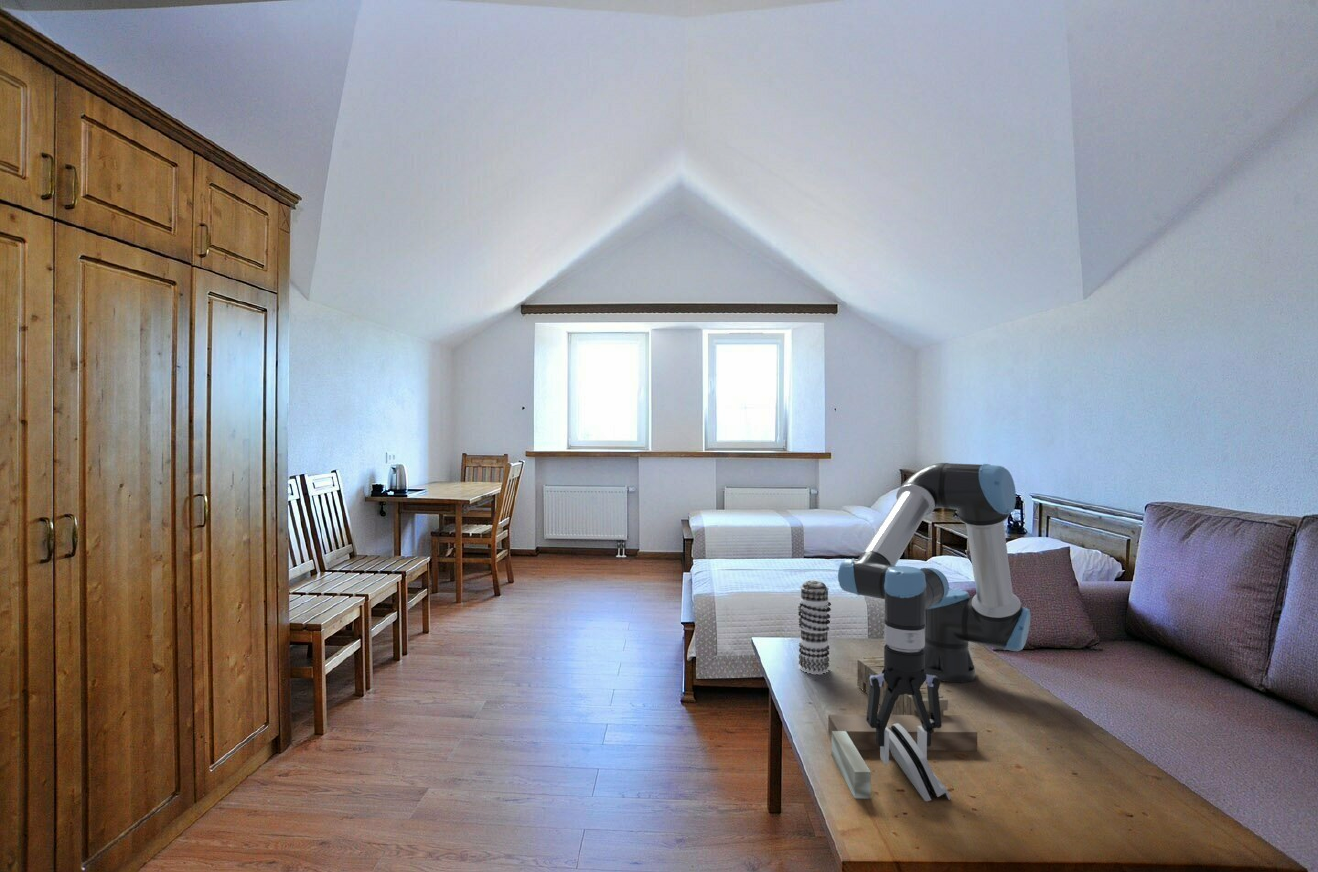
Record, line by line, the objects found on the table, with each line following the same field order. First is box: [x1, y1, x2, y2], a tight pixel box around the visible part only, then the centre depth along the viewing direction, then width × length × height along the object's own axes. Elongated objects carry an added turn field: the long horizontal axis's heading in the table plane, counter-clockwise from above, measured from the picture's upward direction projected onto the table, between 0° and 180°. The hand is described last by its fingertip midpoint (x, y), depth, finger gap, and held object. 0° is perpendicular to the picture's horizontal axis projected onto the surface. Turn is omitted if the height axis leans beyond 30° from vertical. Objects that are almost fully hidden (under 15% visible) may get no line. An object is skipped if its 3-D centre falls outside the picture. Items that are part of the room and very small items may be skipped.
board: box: [827, 714, 978, 799], centre depth 132 cm, size 32×26×5 cm
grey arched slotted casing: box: [886, 723, 952, 802], centre depth 126 cm, size 17×5×10 cm, turn 0°
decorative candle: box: [797, 580, 832, 675], centre depth 182 cm, size 9×9×25 cm
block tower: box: [856, 655, 949, 715], centre depth 158 cm, size 8×8×29 cm
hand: (903, 761), depth 126 cm, fingers open, 7 cm apart
